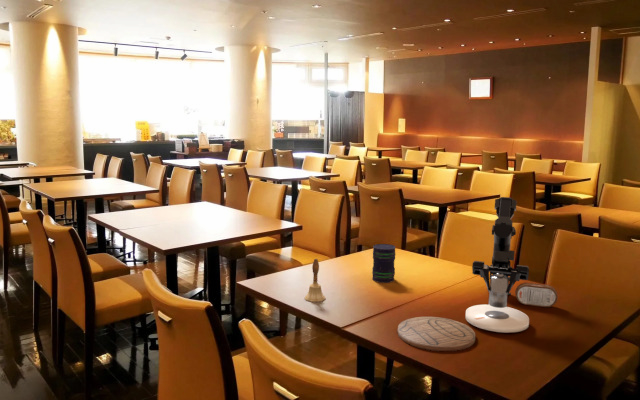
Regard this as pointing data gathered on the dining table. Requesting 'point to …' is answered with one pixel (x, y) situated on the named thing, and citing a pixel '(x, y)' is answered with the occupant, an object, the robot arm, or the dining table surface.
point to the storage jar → (383, 263)
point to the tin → (536, 294)
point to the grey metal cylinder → (498, 290)
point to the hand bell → (315, 286)
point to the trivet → (436, 334)
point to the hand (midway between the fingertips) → (498, 291)
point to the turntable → (497, 318)
